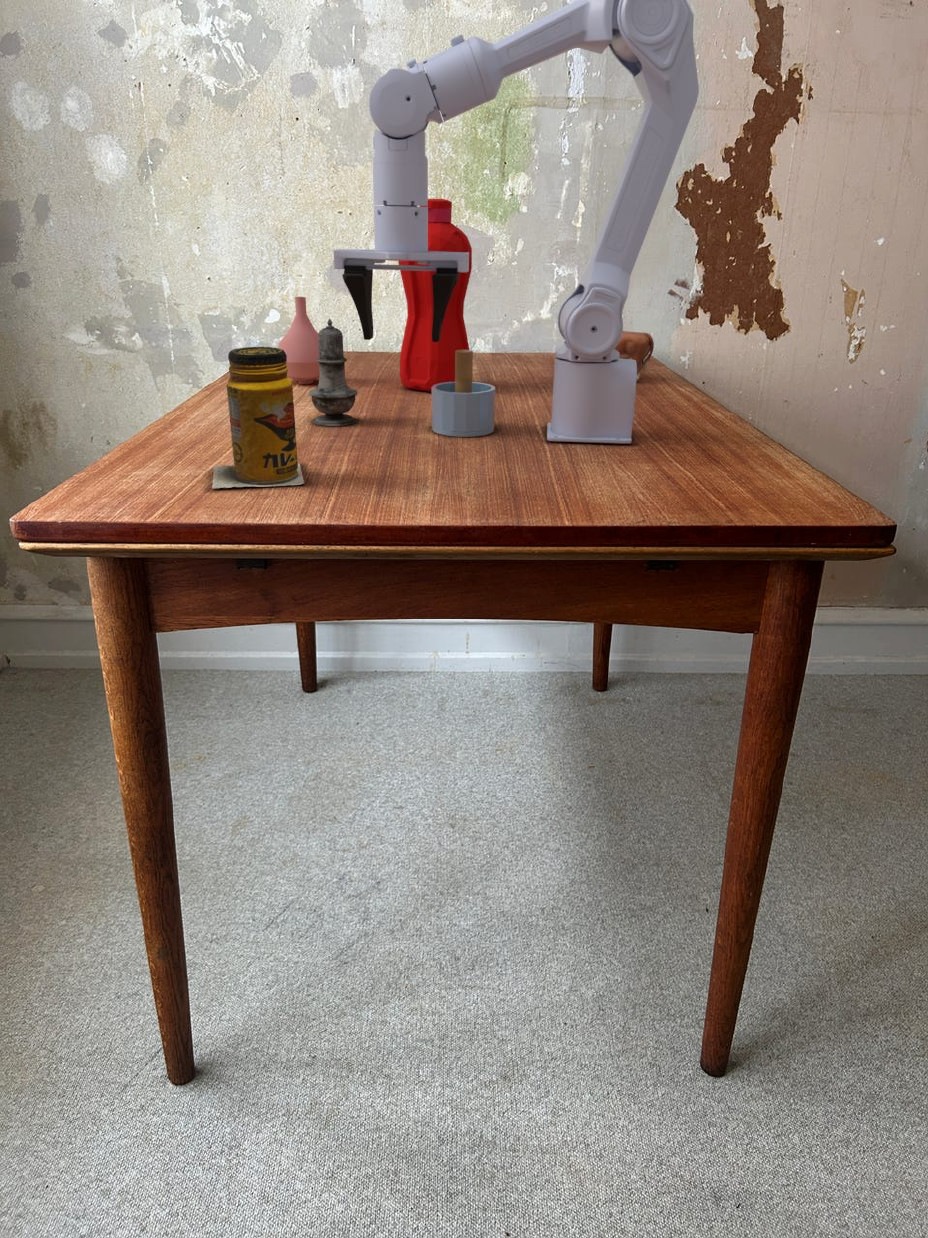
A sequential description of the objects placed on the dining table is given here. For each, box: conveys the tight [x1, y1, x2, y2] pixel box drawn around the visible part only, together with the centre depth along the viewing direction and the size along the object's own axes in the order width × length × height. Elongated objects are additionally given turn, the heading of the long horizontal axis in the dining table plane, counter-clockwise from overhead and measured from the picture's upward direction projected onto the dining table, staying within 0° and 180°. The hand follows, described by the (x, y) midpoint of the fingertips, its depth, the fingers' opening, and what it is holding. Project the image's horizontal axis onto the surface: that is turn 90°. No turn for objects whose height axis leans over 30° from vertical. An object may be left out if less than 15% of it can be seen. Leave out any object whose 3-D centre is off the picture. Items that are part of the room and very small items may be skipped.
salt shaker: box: [308, 318, 359, 427], centre depth 106 cm, size 6×6×12 cm
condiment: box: [211, 346, 305, 489], centre depth 84 cm, size 7×8×12 cm
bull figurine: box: [615, 330, 655, 382], centre depth 139 cm, size 4×13×8 cm, turn 42°
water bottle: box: [397, 198, 473, 393], centre depth 126 cm, size 9×11×25 cm
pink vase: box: [277, 296, 320, 385], centre depth 130 cm, size 8×8×12 cm
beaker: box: [431, 381, 497, 438], centre depth 105 cm, size 7×7×5 cm
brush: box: [455, 349, 474, 393], centre depth 104 cm, size 3×3×8 cm
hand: (402, 339), depth 100 cm, fingers open, 7 cm apart
